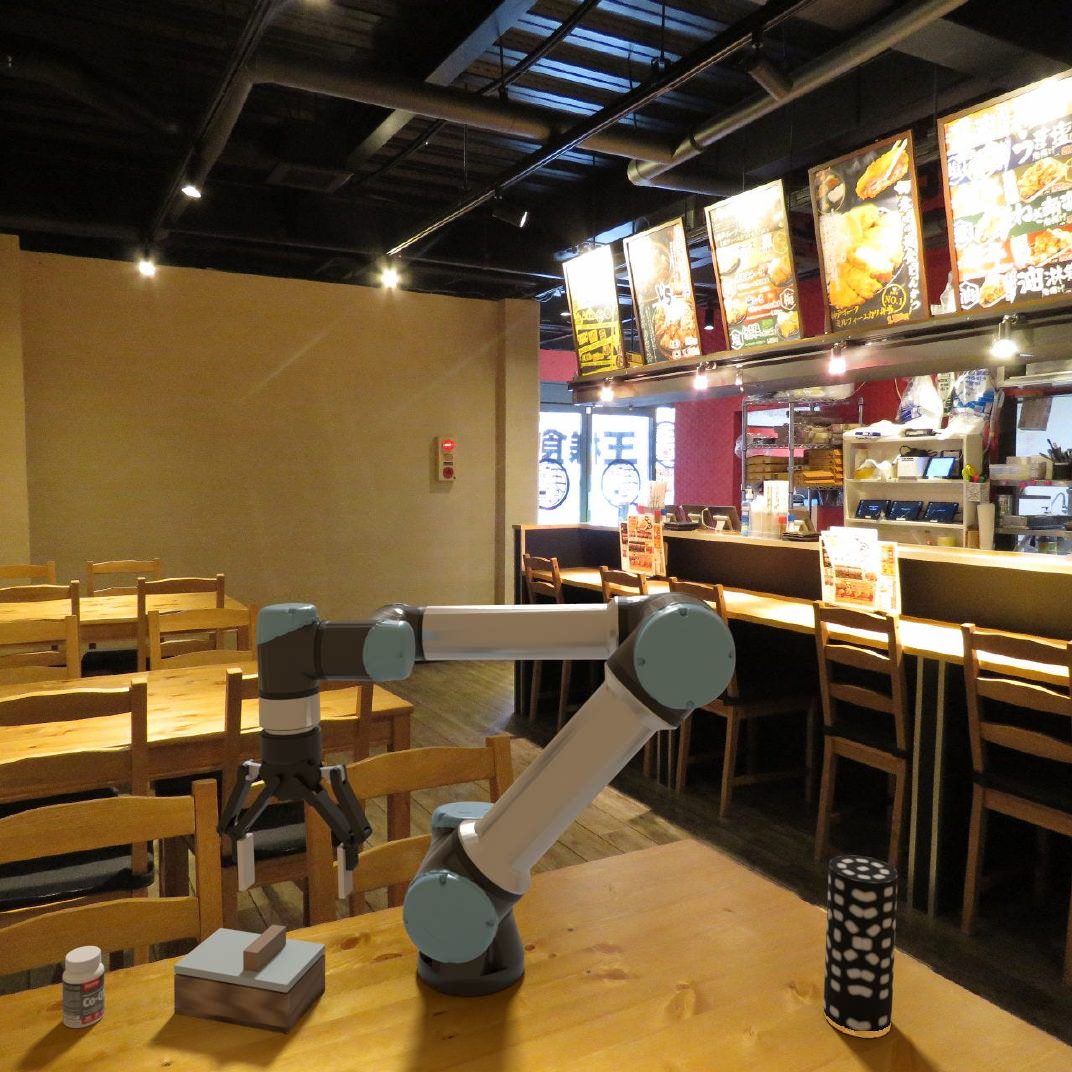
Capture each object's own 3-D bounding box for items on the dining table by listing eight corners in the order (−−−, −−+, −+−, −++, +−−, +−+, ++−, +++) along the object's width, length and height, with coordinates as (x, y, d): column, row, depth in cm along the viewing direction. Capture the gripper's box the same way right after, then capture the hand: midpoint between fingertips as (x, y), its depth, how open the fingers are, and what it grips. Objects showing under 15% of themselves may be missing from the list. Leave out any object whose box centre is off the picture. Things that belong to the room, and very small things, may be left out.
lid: (325, 951, 119) (325, 926, 119) (286, 992, 110) (286, 965, 110) (220, 934, 123) (220, 910, 123) (174, 972, 114) (174, 946, 114)
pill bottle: (87, 1031, 110) (86, 966, 109) (54, 1026, 111) (53, 961, 110) (113, 1009, 114) (112, 946, 114) (81, 1004, 115) (80, 942, 115)
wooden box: (325, 990, 120) (325, 953, 119) (286, 1034, 110) (286, 994, 110) (220, 971, 124) (220, 937, 123) (174, 1012, 114) (174, 975, 114)
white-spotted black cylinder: (858, 1046, 110) (865, 888, 109) (809, 1010, 117) (815, 861, 116) (905, 1028, 114) (912, 875, 112) (855, 994, 121) (860, 850, 120)
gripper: (394, 722, 114) (398, 883, 115) (216, 715, 119) (222, 871, 120) (372, 738, 106) (377, 911, 108) (184, 731, 111) (190, 896, 112)
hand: (295, 890), depth 114 cm, fingers open, 13 cm apart
